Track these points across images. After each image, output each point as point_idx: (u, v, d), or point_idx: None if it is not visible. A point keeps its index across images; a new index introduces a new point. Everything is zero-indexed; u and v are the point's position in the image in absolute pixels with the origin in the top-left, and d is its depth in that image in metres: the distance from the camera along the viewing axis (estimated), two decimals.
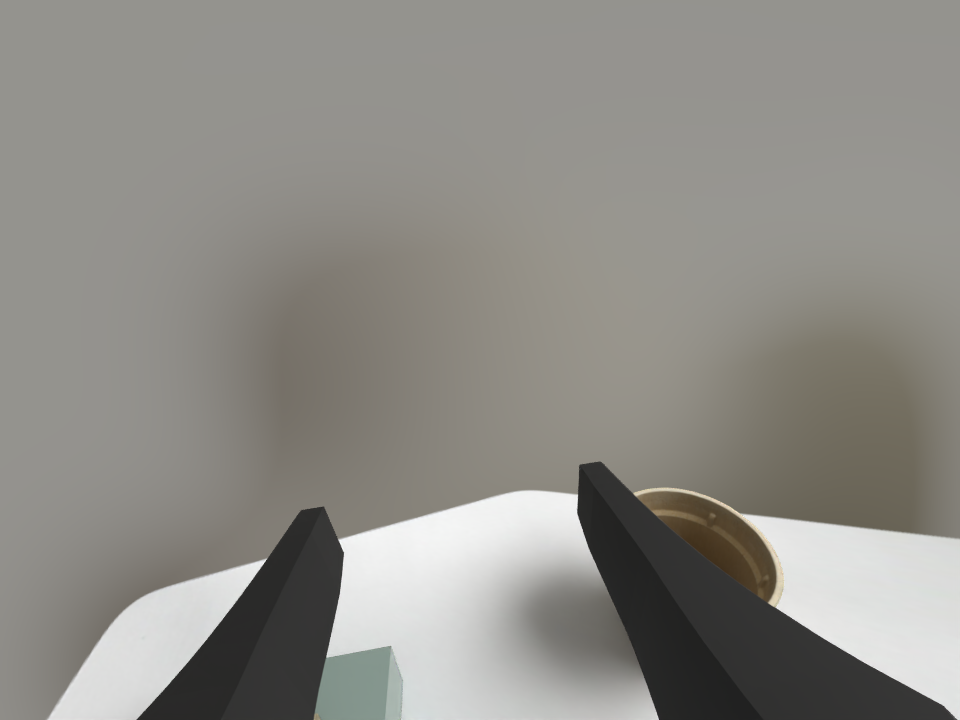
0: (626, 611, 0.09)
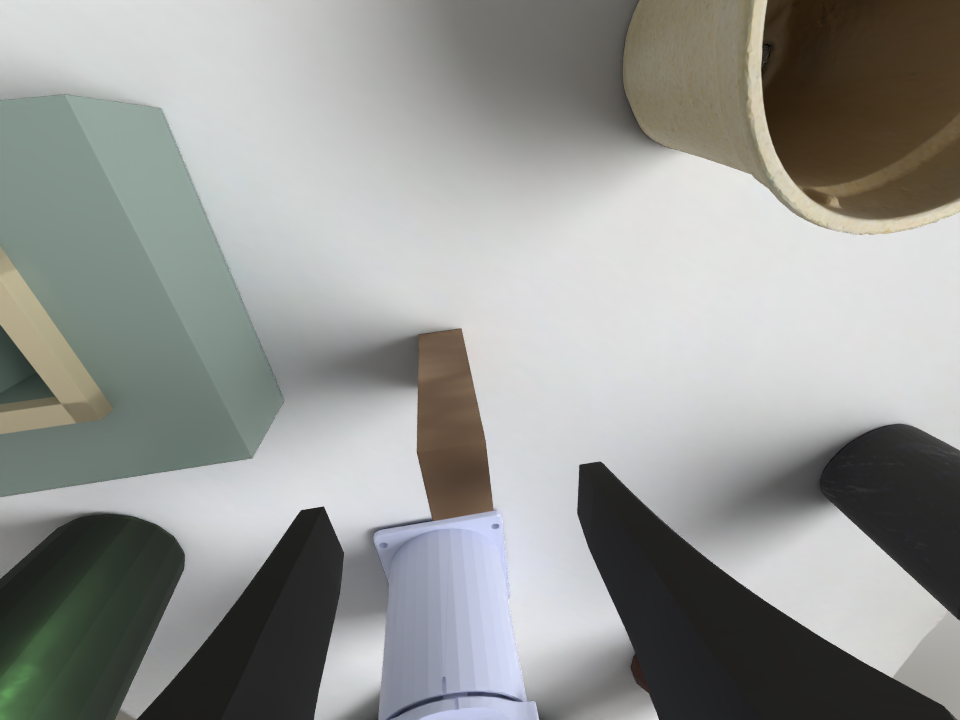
0: (626, 611, 0.09)
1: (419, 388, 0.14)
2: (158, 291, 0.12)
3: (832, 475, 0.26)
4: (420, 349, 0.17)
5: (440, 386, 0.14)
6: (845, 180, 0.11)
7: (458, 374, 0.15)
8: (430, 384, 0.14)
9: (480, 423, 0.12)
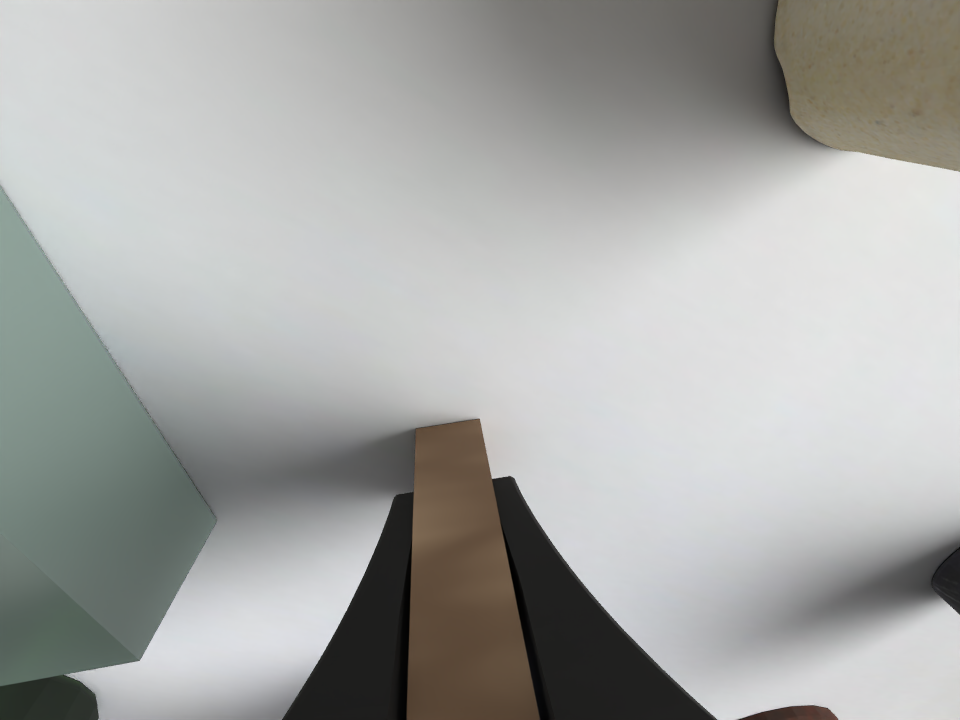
0: None
1: (414, 571, 0.08)
2: None
3: (955, 574, 0.20)
4: (417, 464, 0.11)
5: (450, 567, 0.08)
6: None
7: (480, 535, 0.09)
8: (433, 562, 0.08)
9: (534, 707, 0.06)
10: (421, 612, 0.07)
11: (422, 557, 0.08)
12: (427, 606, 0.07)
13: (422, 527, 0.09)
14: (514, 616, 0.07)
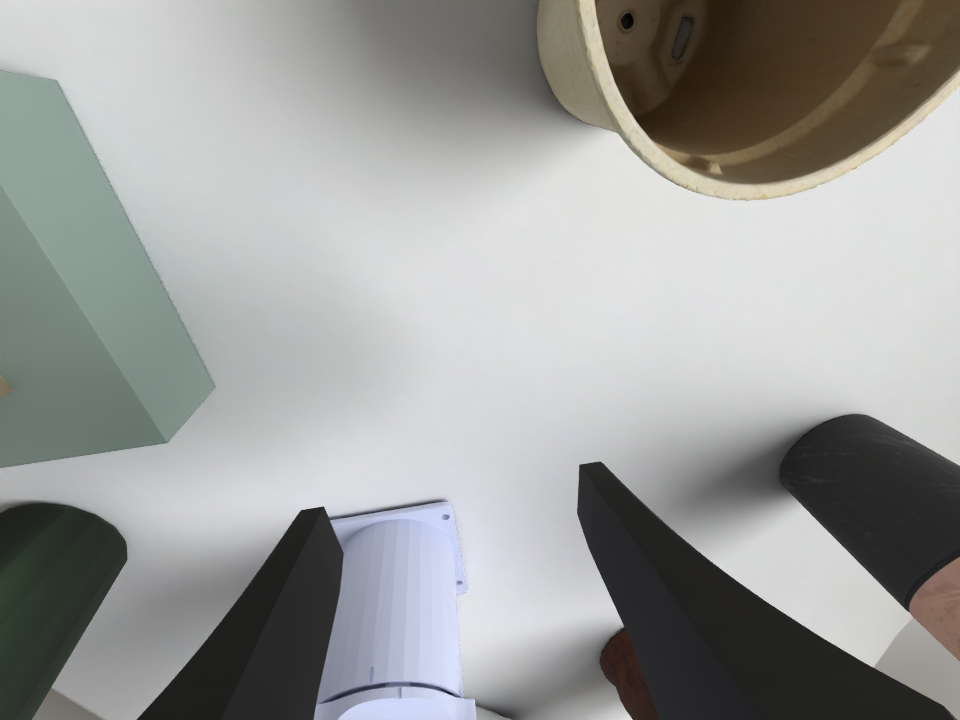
0: (626, 611, 0.09)
1: None
2: (45, 267, 0.12)
3: (790, 466, 0.26)
4: None
5: None
6: (738, 149, 0.10)
7: None
8: None
9: None
10: None
11: None
12: None
13: None
14: None
